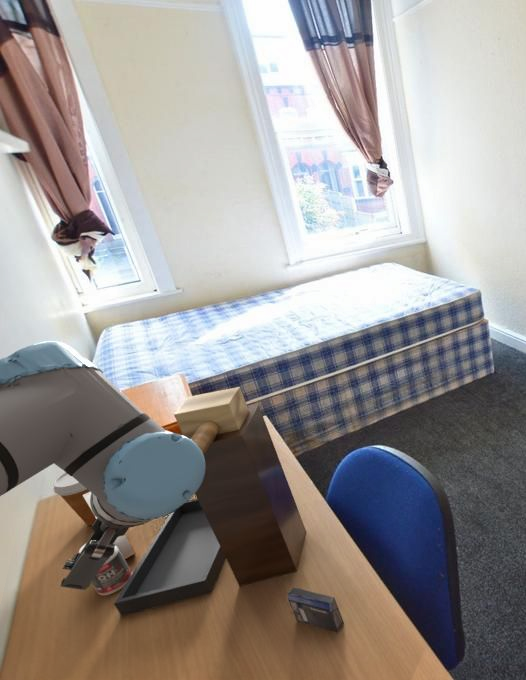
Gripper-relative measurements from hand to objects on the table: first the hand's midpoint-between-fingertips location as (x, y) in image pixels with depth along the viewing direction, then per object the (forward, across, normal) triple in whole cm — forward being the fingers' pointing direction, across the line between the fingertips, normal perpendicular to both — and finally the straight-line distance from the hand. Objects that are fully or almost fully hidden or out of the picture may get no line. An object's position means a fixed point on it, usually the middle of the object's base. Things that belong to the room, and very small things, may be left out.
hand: (115, 507), depth 67 cm
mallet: (-6, +10, -6) cm, 13 cm away
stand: (+14, -1, -28) cm, 31 cm away
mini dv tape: (-4, -10, -33) cm, 35 cm away
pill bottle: (+34, -9, -8) cm, 36 cm away
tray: (+29, -1, -17) cm, 34 cm away
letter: (+45, -2, -6) cm, 45 cm away
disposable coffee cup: (+56, +3, -2) cm, 56 cm away
